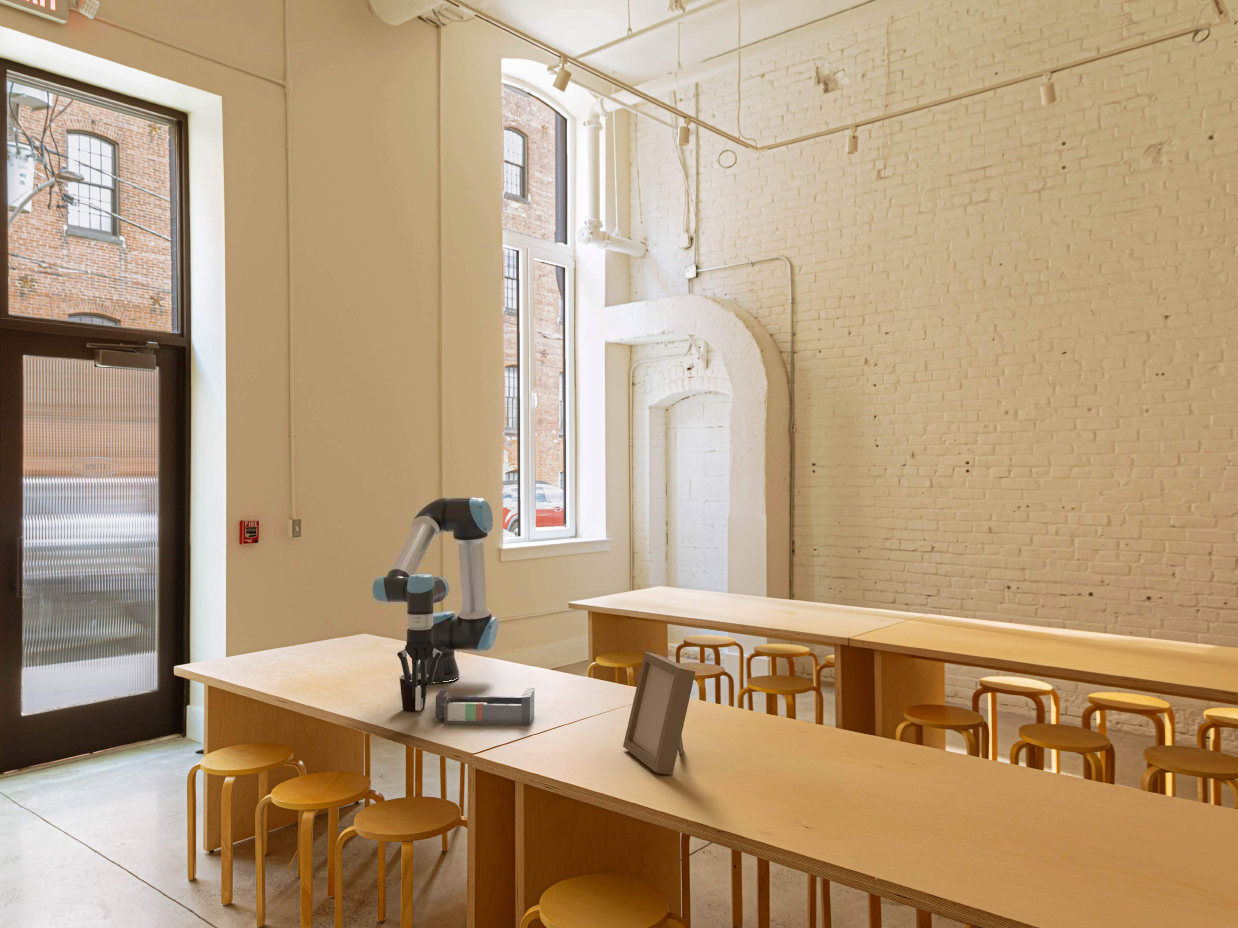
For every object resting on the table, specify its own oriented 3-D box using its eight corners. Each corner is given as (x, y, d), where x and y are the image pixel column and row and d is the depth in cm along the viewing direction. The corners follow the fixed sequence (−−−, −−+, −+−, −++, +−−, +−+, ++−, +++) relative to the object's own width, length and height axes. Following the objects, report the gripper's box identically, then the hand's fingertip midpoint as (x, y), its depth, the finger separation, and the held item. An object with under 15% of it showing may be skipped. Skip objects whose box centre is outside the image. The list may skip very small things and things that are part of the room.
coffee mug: (411, 714, 255) (411, 680, 256) (393, 709, 261) (393, 676, 261) (441, 706, 265) (442, 674, 265) (423, 702, 270) (423, 670, 270)
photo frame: (655, 776, 202) (657, 669, 203) (622, 750, 222) (624, 652, 223) (712, 770, 207) (714, 666, 208) (675, 745, 227) (676, 650, 228)
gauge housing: (452, 714, 256) (452, 687, 256) (534, 715, 256) (534, 688, 256) (444, 724, 245) (444, 696, 245) (529, 725, 244) (529, 697, 245)
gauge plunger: (440, 711, 254) (440, 690, 254) (487, 711, 254) (488, 691, 254) (433, 719, 244) (433, 698, 244) (482, 720, 244) (482, 699, 244)
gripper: (394, 629, 248) (393, 712, 247) (439, 630, 247) (438, 712, 247) (401, 625, 255) (400, 705, 255) (445, 625, 255) (444, 705, 254)
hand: (419, 708), depth 251 cm, fingers closed
